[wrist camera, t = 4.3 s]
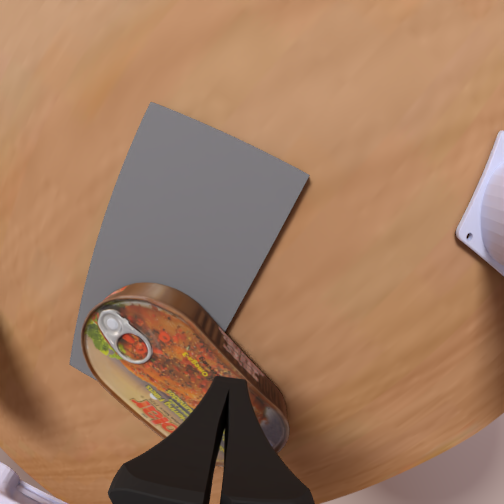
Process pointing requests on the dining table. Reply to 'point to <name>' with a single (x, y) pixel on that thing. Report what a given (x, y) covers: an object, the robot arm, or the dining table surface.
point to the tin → (171, 360)
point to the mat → (189, 217)
